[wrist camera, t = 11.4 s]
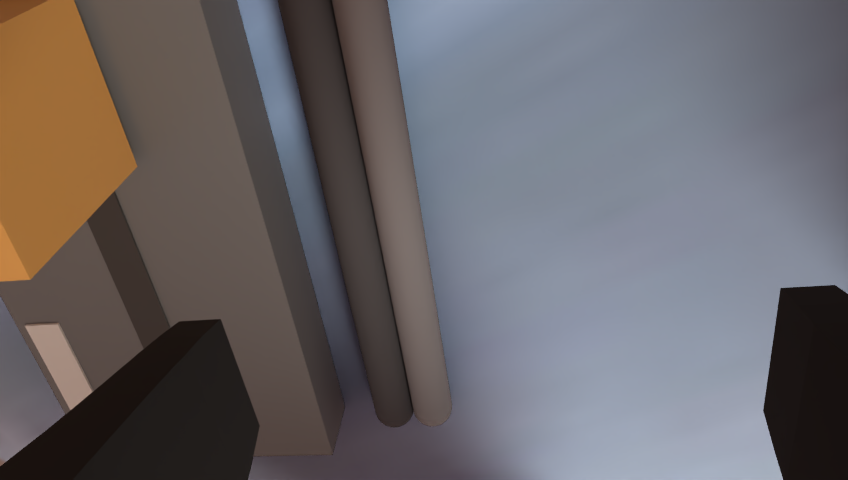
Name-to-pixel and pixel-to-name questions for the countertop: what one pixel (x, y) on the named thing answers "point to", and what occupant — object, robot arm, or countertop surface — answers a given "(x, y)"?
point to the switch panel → (187, 229)
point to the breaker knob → (52, 133)
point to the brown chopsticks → (371, 198)
